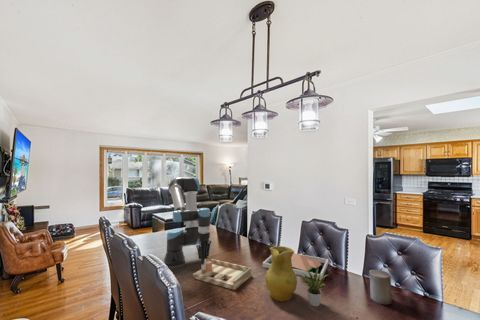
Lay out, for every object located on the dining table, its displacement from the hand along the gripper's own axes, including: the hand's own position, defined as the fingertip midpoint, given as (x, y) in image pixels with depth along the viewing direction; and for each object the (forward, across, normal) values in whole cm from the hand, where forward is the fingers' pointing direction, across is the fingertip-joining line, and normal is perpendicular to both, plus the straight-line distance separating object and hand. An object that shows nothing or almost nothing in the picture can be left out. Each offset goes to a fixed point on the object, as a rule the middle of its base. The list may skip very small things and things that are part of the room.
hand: (203, 268), depth 150 cm
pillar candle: (+5, +25, -99) cm, 102 cm away
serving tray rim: (+4, +47, -48) cm, 67 cm away
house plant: (+5, +5, -70) cm, 71 cm away
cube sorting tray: (+4, +4, -11) cm, 13 cm away
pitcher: (+5, +4, -52) cm, 52 cm away
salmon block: (+2, +3, 0) cm, 4 cm away
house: (+4, +46, -48) cm, 67 cm away
